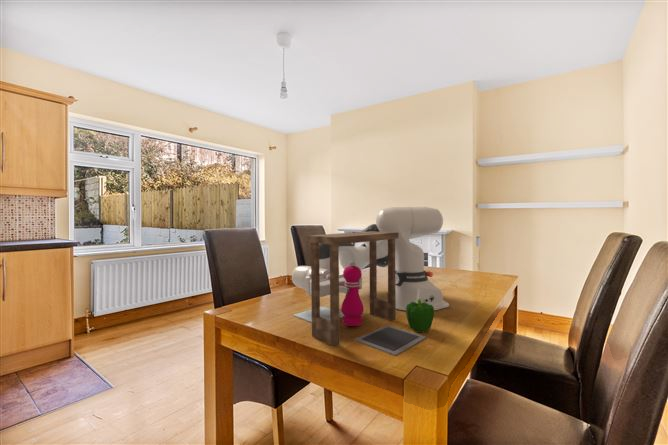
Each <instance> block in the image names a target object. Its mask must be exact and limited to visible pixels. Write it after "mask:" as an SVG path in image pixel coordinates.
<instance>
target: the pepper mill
mask: <svg viewBox="0 0 668 445" xmlns="http://www.w3.org/2000/svg"><path fill="white" fill-rule="evenodd" d="M354 265H355V262H354V261H351V262H350V266H348V267H346V268H345V269H343V271H342V275H343V277H344V278H345V280H346V281H345V286H346V287H349V292H348V293H345V296H344V299H343V301H342V304H341V307H340V308H341V311H340V312H342V313H343V314H344V315H345V316H343V317H342V323H343V325H345V326H349V327H357V326H360V325H362V324H363V317H362V315H363V314H364V310H365V309H364V303H363V302H362V299H361V297H360V294H359V291H360V289H359V286H360V281H359V279H360V278H361V277H362V275H363V273H362V270H360V268H359V267H357V266H354ZM358 289H359V290H358Z"/></svg>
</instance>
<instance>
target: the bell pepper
mask: <svg viewBox="0 0 668 445" xmlns="http://www.w3.org/2000/svg"><path fill="white" fill-rule="evenodd" d="M405 315H406V320H407V323H408V327H409V328H410V329H411V330H413V331H415V332H416V333H426V332H428V331H429V330H430V329H431V328H432V324H433V319H434V317H435V316H434V315H435V310H434V308H433V306H432V305H428V304H427V303H425V302H423V303H421V299H418V303H415V302H411V303H410V304H407V307H406V311H405Z"/></svg>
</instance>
